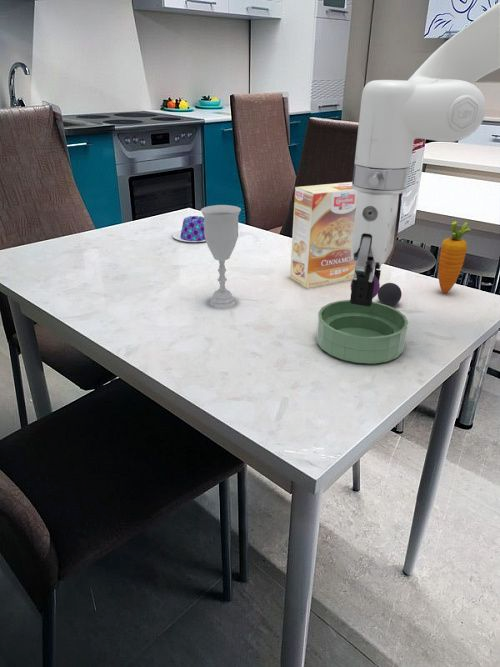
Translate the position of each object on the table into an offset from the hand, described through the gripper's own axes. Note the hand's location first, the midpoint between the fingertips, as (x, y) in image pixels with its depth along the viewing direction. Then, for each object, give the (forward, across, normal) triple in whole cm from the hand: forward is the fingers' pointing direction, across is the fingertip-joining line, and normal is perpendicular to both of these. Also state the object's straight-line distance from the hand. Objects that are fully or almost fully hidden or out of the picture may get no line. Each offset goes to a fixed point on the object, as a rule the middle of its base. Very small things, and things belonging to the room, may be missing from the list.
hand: (364, 297), depth 79 cm
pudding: (+9, +42, +52) cm, 68 cm away
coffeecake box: (+9, +27, +12) cm, 31 cm away
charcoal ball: (+8, +18, -2) cm, 20 cm away
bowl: (+9, 0, 0) cm, 9 cm away
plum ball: (0, 0, 0) cm, 0 cm away
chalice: (+9, +6, +27) cm, 29 cm away
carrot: (+8, +29, -12) cm, 32 cm away
